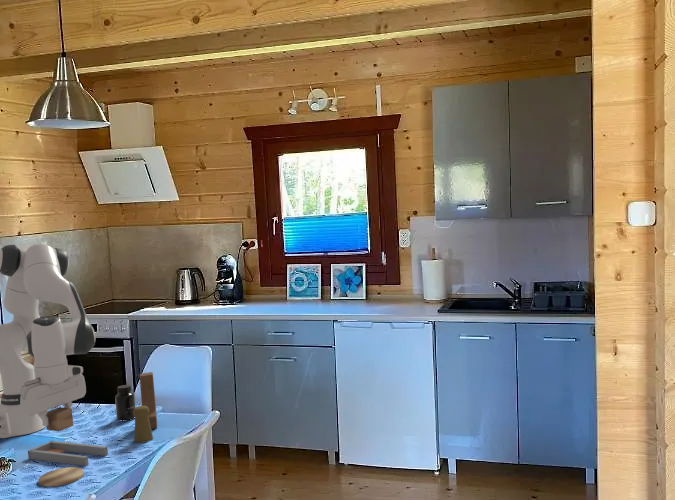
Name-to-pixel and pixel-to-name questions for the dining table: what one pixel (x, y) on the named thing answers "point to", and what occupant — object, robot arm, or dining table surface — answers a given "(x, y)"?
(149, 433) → the pepper shaker
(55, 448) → the channel
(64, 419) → the walnut block
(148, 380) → the wooden block
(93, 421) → the dining table surface
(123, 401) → the supplement bottle
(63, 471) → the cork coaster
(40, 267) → the robot arm
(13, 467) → the dining table surface
